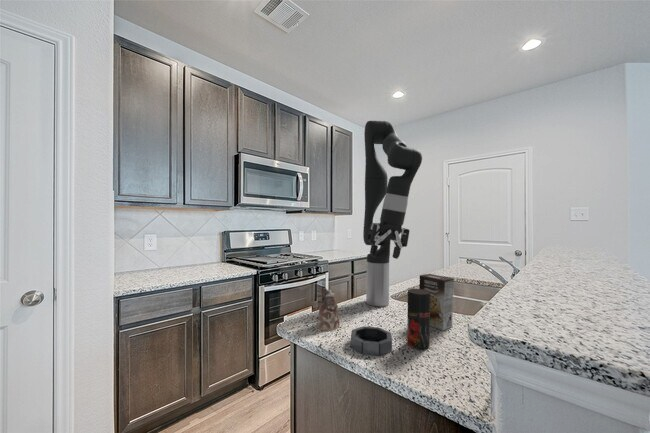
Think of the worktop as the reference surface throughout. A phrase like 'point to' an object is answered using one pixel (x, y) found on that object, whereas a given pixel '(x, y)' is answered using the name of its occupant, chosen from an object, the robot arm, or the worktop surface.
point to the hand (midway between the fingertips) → (384, 257)
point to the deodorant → (418, 319)
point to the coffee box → (439, 299)
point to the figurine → (328, 312)
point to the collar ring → (371, 340)
